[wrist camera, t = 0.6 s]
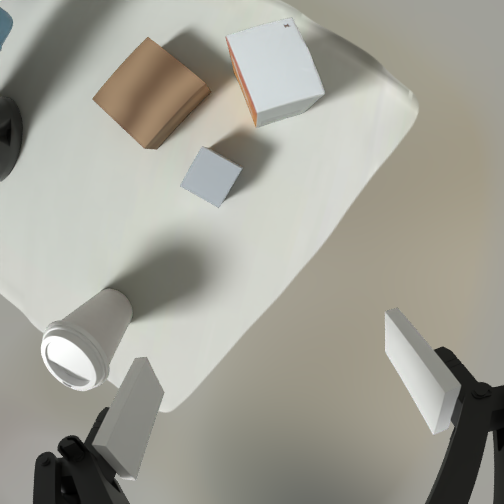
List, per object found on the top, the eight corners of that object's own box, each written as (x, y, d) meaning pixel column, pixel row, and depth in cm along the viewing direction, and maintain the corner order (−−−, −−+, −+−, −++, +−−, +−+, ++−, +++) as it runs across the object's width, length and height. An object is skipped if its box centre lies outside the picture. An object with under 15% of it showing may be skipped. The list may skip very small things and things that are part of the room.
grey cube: (189, 182, 38) (179, 185, 33) (208, 148, 36) (201, 146, 32) (223, 201, 38) (218, 208, 34) (243, 167, 37) (241, 168, 32)
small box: (233, 73, 33) (223, 33, 21) (281, 58, 33) (293, 14, 20) (255, 129, 36) (256, 114, 23) (303, 114, 35) (328, 93, 22)
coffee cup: (78, 306, 43) (27, 356, 29) (105, 266, 41) (49, 313, 26) (122, 344, 45) (85, 406, 30) (154, 309, 43) (116, 372, 28)
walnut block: (109, 104, 34) (92, 99, 30) (159, 49, 32) (147, 36, 28) (157, 149, 36) (144, 148, 32) (211, 92, 34) (205, 83, 30)
